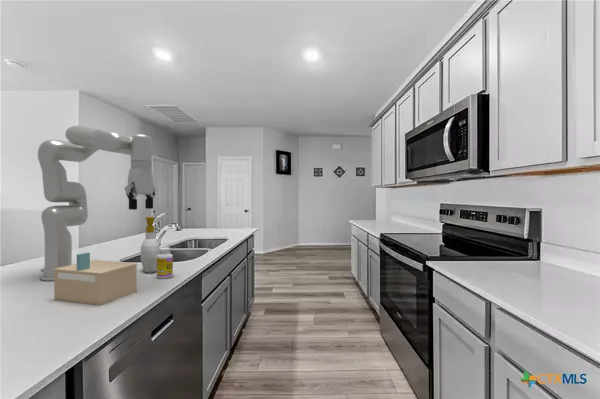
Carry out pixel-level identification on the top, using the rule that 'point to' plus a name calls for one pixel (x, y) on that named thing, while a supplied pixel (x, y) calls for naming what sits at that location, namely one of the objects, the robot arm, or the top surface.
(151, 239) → the soap bottle
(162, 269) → the supplement bottle
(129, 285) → the carton
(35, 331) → the top surface
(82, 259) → the lid
